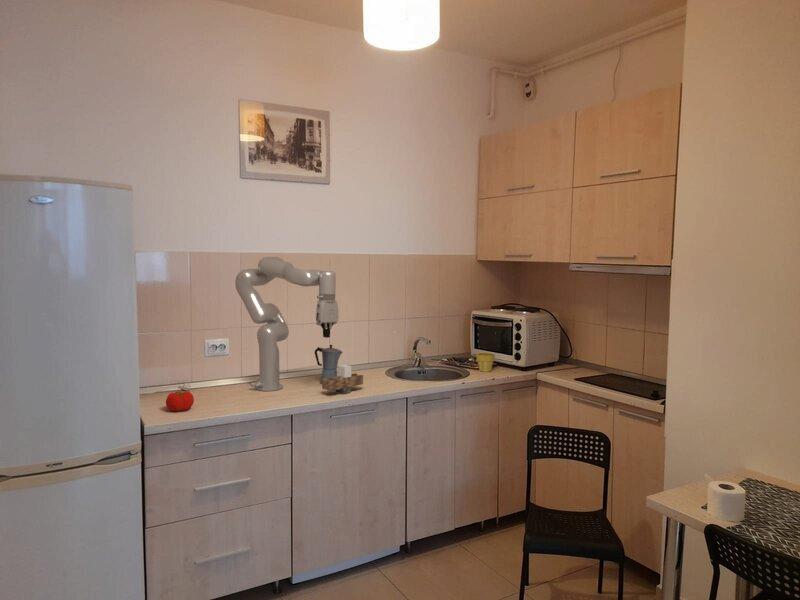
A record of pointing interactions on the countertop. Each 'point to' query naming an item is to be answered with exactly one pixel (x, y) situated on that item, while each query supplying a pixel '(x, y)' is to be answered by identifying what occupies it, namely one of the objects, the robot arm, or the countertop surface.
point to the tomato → (179, 401)
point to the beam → (342, 383)
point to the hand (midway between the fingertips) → (326, 337)
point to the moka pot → (329, 361)
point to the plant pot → (485, 361)
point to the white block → (344, 371)
